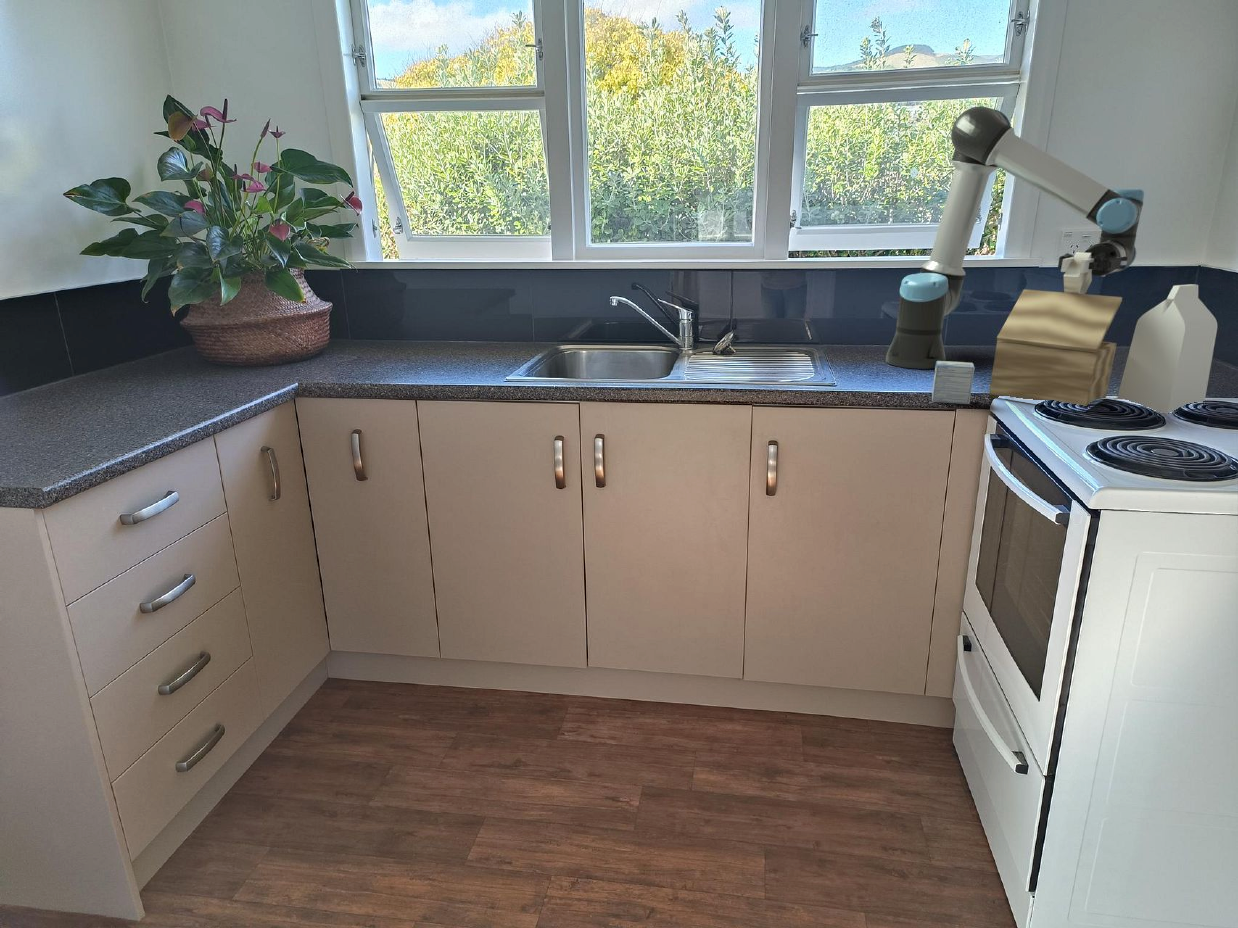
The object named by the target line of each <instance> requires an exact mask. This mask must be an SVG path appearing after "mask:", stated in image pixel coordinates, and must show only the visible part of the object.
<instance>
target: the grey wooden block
mask: <svg viewBox="0 0 1238 928" xmlns="http://www.w3.org/2000/svg"><path fill="white" fill-rule="evenodd" d="M974 373H975V365H974V363H973V362H965V361H947V360H945V361H936V367H935V368H934V376H933V384H932V391H931V392H932V393H931V401H932V403H945V404H946V403H947V404H959V405H960V404H962V405H970V404H971V395H972V388H973V381H974V375H975V374H974Z"/></svg>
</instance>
